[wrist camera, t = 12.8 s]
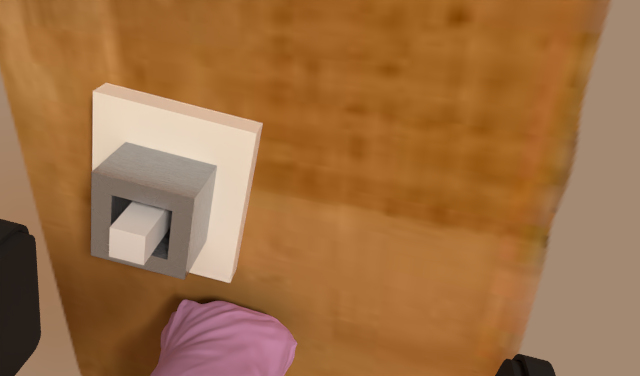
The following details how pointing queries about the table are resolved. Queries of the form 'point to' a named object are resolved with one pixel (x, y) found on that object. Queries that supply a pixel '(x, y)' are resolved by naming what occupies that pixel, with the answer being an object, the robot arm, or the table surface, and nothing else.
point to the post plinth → (187, 141)
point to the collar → (154, 203)
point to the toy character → (223, 342)
